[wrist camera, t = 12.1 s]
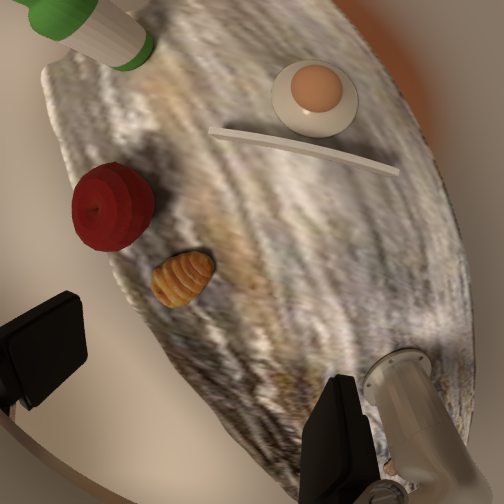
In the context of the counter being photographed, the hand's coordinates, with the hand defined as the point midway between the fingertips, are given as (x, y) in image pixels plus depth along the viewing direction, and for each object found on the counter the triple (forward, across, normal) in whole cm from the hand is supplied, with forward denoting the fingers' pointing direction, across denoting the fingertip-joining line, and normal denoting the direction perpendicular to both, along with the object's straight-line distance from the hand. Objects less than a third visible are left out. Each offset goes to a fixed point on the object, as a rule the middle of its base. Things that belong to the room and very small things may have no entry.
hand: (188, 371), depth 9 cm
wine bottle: (+28, +26, -24) cm, 45 cm away
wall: (+28, -2, -11) cm, 30 cm away
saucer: (+28, -2, -19) cm, 33 cm away
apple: (+28, +19, 0) cm, 34 cm away
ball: (+24, -2, -19) cm, 30 cm away
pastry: (+28, +10, +9) cm, 31 cm away
